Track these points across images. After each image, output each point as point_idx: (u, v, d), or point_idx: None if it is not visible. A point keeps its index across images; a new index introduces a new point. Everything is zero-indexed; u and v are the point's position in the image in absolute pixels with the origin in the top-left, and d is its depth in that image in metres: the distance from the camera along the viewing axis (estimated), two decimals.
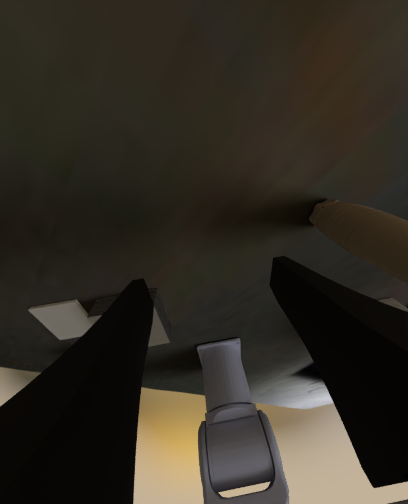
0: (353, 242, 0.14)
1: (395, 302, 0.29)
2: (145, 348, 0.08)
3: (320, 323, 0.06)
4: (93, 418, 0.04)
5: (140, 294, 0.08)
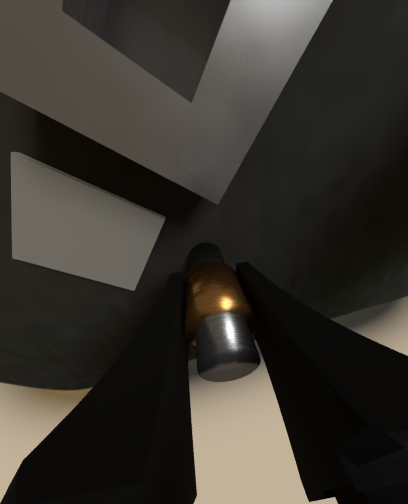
0: None
1: None
2: (187, 341, 0.08)
3: (268, 332, 0.06)
4: (172, 403, 0.04)
5: (182, 287, 0.08)
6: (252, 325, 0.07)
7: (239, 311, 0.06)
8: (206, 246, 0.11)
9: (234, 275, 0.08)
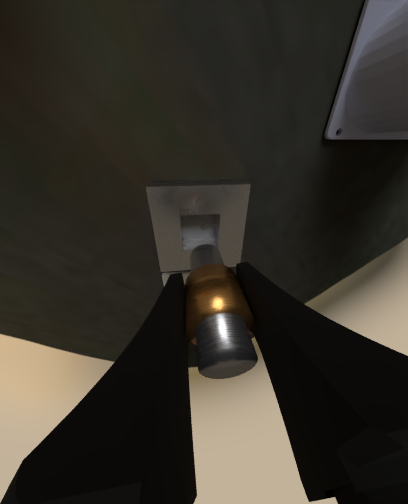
0: None
1: None
2: (187, 341, 0.08)
3: (268, 332, 0.06)
4: (173, 403, 0.04)
5: (182, 287, 0.08)
6: (250, 323, 0.07)
7: (235, 311, 0.07)
8: (205, 247, 0.11)
9: (231, 275, 0.09)
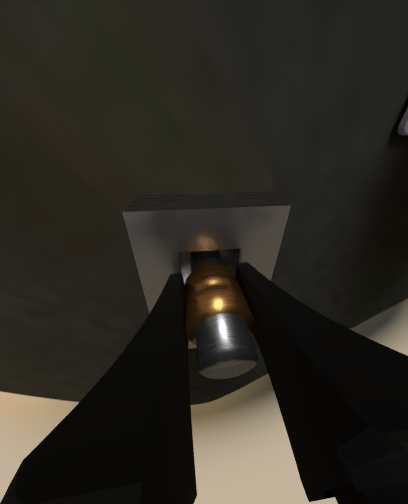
0: None
1: None
2: (187, 341, 0.08)
3: (268, 332, 0.06)
4: (173, 403, 0.04)
5: (182, 287, 0.08)
6: (250, 323, 0.07)
7: (236, 311, 0.07)
8: None
9: (231, 275, 0.08)
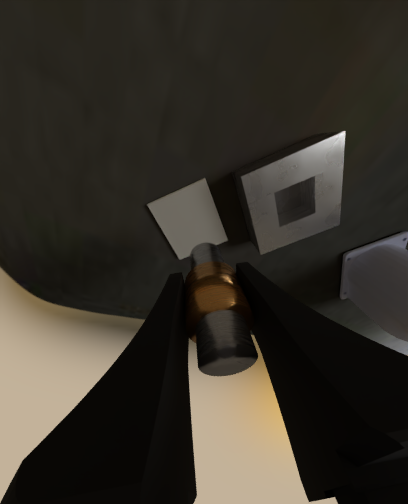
0: None
1: None
2: (187, 341, 0.08)
3: (268, 332, 0.06)
4: (173, 403, 0.04)
5: (182, 287, 0.08)
6: (250, 322, 0.07)
7: (237, 308, 0.07)
8: (205, 246, 0.11)
9: (233, 274, 0.09)
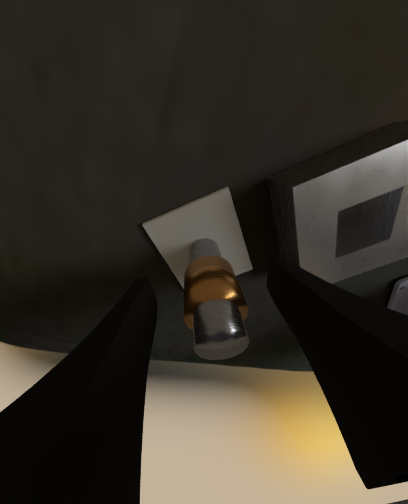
0: None
1: None
2: (149, 347, 0.08)
3: (315, 324, 0.06)
4: (101, 416, 0.04)
5: (144, 293, 0.08)
6: (244, 311, 0.08)
7: (231, 298, 0.07)
8: (204, 241, 0.12)
9: (229, 267, 0.09)
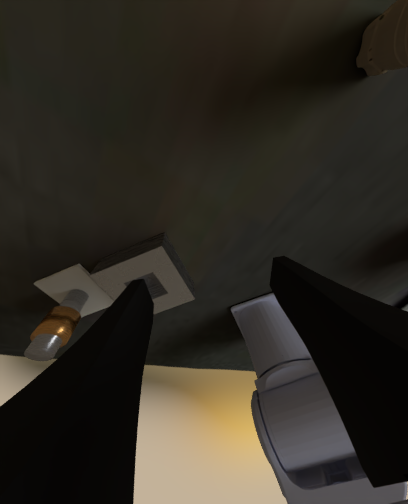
0: None
1: None
2: (145, 348, 0.08)
3: (320, 323, 0.06)
4: (93, 418, 0.04)
5: (140, 294, 0.08)
6: (62, 337, 0.16)
7: (49, 333, 0.16)
8: (72, 292, 0.20)
9: (66, 313, 0.17)
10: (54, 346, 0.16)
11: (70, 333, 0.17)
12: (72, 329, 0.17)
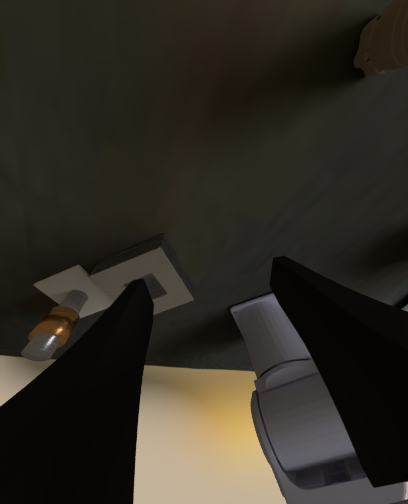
0: None
1: None
2: (145, 348, 0.08)
3: (320, 323, 0.06)
4: (93, 418, 0.04)
5: (140, 294, 0.08)
6: (60, 337, 0.16)
7: (46, 332, 0.16)
8: (71, 293, 0.20)
9: (65, 313, 0.17)
10: (51, 346, 0.16)
11: (68, 333, 0.17)
12: (70, 329, 0.17)
